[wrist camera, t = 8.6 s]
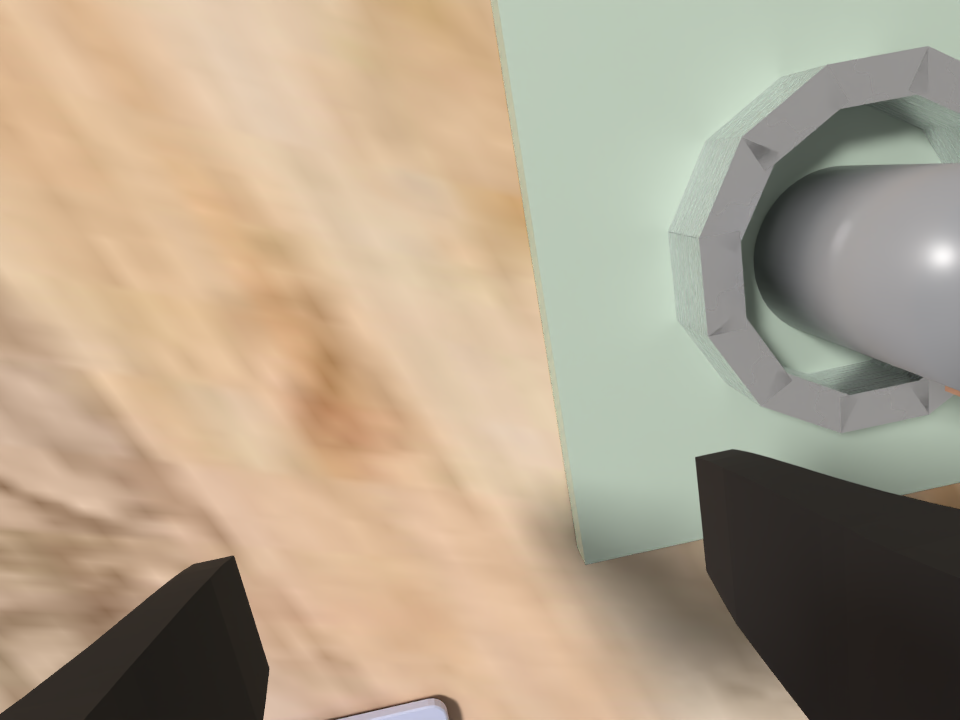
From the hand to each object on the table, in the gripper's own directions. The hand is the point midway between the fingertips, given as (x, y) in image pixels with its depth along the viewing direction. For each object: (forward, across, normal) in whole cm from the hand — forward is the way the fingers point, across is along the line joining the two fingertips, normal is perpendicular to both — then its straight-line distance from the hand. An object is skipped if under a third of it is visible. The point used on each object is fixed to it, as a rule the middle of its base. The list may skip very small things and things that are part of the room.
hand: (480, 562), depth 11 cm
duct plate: (+9, -11, -2) cm, 15 cm away
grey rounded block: (+8, -11, -2) cm, 14 cm away
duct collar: (+9, -11, -2) cm, 15 cm away
